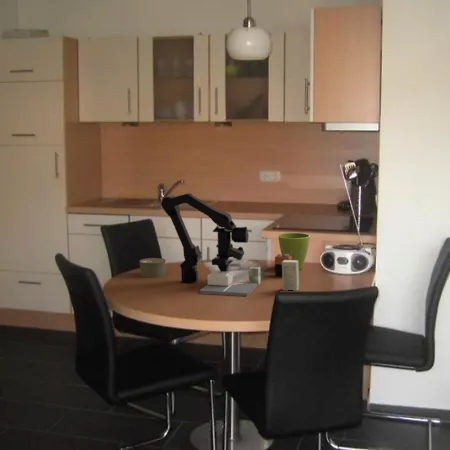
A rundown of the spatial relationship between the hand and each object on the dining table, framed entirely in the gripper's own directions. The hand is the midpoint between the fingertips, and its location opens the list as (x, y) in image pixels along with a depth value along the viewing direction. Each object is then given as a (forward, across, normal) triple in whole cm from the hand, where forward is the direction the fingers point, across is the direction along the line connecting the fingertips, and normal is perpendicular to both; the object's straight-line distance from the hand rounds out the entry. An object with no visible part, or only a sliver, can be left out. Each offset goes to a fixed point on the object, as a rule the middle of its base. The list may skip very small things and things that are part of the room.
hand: (224, 277), depth 292 cm
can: (+3, +8, +37) cm, 38 cm away
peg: (+3, +2, -13) cm, 13 cm away
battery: (+3, +19, -22) cm, 29 cm away
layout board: (+2, -11, -5) cm, 12 cm away
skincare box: (+3, -5, -30) cm, 31 cm away
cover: (+1, -7, 0) cm, 7 cm away
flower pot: (+3, +35, -24) cm, 43 cm away
